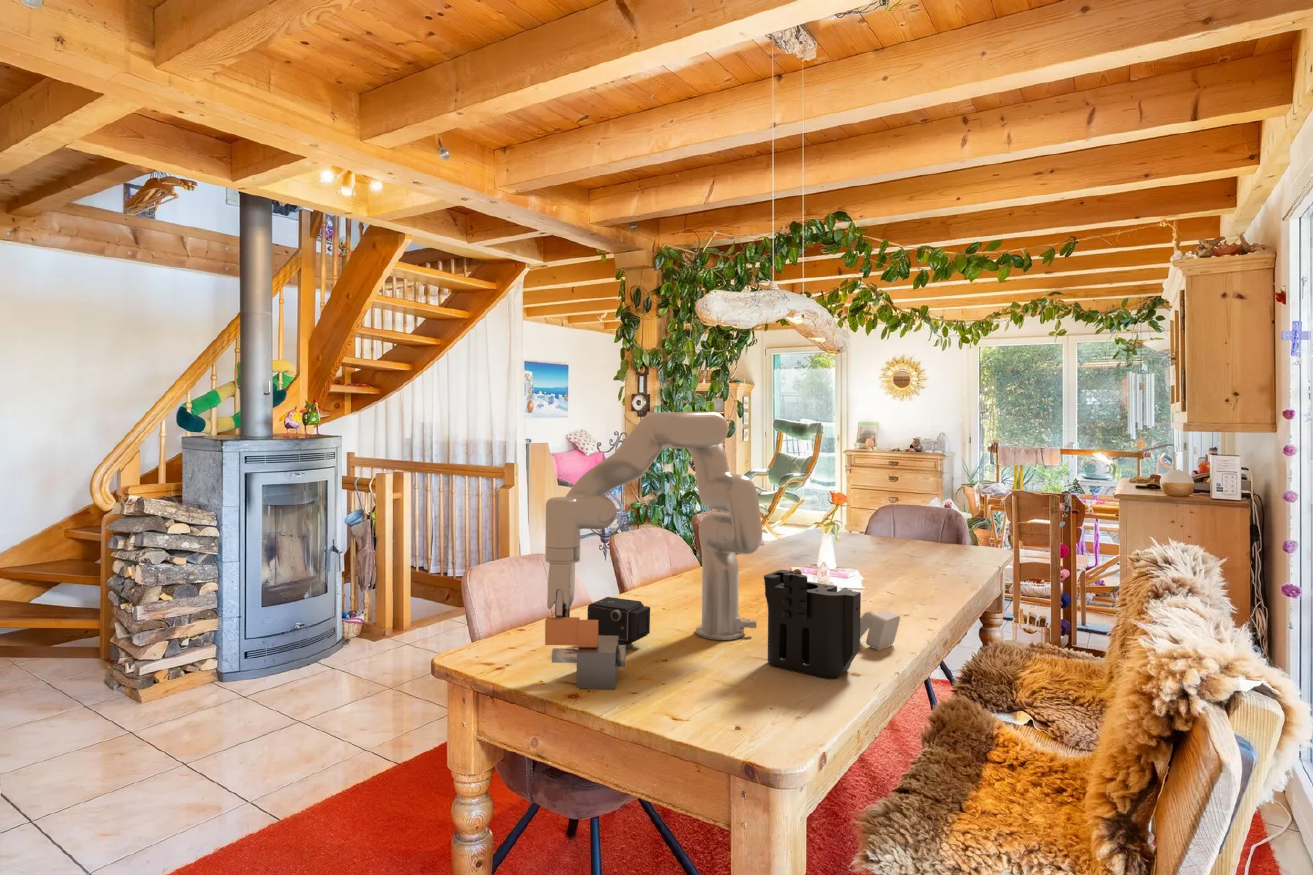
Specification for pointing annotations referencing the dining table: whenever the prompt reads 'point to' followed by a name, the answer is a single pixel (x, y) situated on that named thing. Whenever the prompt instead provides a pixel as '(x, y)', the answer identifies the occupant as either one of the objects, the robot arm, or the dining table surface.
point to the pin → (571, 655)
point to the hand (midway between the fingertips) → (562, 637)
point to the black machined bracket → (811, 625)
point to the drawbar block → (598, 664)
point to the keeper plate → (571, 631)
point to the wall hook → (879, 628)
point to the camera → (621, 619)
